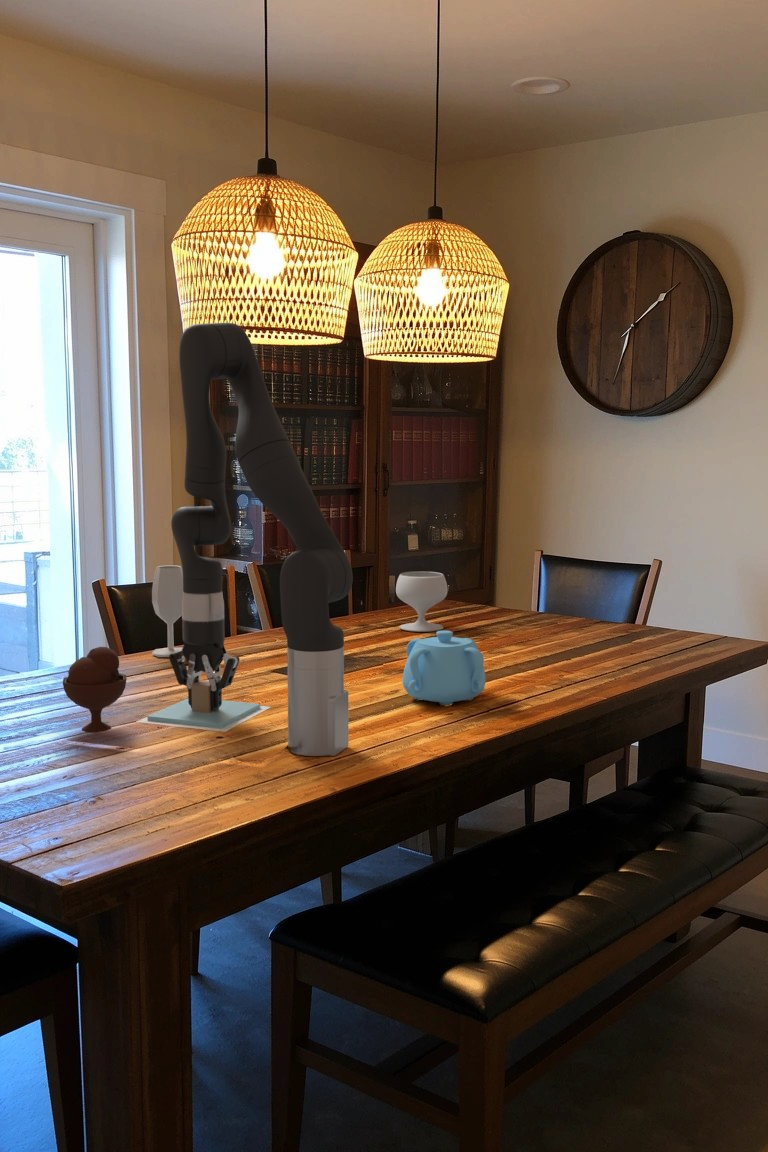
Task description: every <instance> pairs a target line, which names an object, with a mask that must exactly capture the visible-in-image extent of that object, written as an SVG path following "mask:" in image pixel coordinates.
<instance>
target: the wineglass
mask: <svg viewBox="0 0 768 1152" xmlns="http://www.w3.org/2000/svg"><path fill="white" fill-rule="evenodd" d="M151 588H152V589H151V603H152V606H153V610H154V614H155V615H156V616H158V618H159V619H161V620H162V621H164V623H166V626H167V628H166V629H167V647H163V648H155V649H154V650H152V653H151V654H152V656H155V657H157V658H169V655H170V654H172V653H175V652H178V651H179V652H180V651H182V648H183V647H175V645H174V644H175V643H174V623H176V621H178V620H179V618H180V617H182V600H183V570H182V565H174V564H173V565H169V564H168V565H158V566H156V567H155V571H154V574H153V579H152V587H151Z"/></svg>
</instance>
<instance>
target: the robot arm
mask: <svg viewBox="0 0 768 1152" xmlns="http://www.w3.org/2000/svg"><path fill="white" fill-rule="evenodd" d="M178 349H179V351H178V353H179V354H178V355H179V357H178V358H179V359H178V360H179V372H180V382H181V383H180V384H181V392H182V393H181V394H182V395H181V396H182V402H183V403H182V404H183V412H184V413H183V414H184V422H185V432H186V434H185V435H186V436H185V437H186V438H185V439H186V448H185V449H186V452H185V464H184V465H185V468H184V469H185V470H184V490H185V491H186V492H187V494H188V495H191V496H192V497H195V498H200V499H203V500H208V501H210V505H205V506H204V505H203V506H202V505H200V506H181V507H179V508H177V509H176V510H175V511H174V513H173V515H172V518H171V521H170V522H171V523H170V525H171V531H172V535H173V537H174V541H175V544H176V546H177V551H178V553H179V557H180V563H181V567H182V570H183V600H182V615H181V617H182V618H181V621H182V622H181V623H182V626H181V627H182V641H183V647H181V648H182V651H180V652H179V651H178V652H175V653H172V654H170V655H169V657H168V658H169V661H170V663H171V667H172V670H173V672H174V675H175V678H176V680H177V684H178V685H180V686H181V685H183V686H185V687H186V688H187V690H188V691H187V693H188V694H187V695H188V696H187V697H188V703H189V705H191V709H192V689H191V685H192V684H194V683H196V682H199V681H201V680H200V679H201V675H202V674H203V672H204V673H205V675H206V679H207V680H208V681H209V683H210V688H211V690H212V691H210V703H211V711H216V710H218V709H219V707H220V706H221V704H222V700H223V695H222V694H223V693H222V691H223V689H225V688H227V687H229V686H231V685H232V683H233V680H234V678H235V674H236V671H237V669H238V666H239V662H240V660H241V659H240V657H239V656H238V655H236V656H232V655H231V654H230V653H229V654H228V653H227V650H226V648H225V645H224V644H225V640H226V639H225V601H224V595H223V566H222V562H220V560H218V559H216V558H213V557H212V558H210V557H205V556H204V557H203V556H200V555H198V553H197V552H196V550H195V547H196V546H218V545H223V544H225V543H226V542H227V541H228V539H229V538H230V537H231V535H232V530H233V529H232V520H231V516H230V512H229V508H228V503H227V496H226V495H227V494H226V472H227V471H226V469H227V447H226V446H227V445H226V442H225V438H224V437H223V434H222V431H221V429H220V428H219V425H218V423H217V422H216V419H215V417H214V414H213V411H212V409H211V404H210V386H211V381H212V380H213V381H214V380H227V381H228V383H229V386H230V388H231V389H232V392H233V395H234V397H235V400H236V403H237V407H238V419H237V425H236V429H235V430H236V431H235V437H234V438H235V439H234V452H235V453H234V454H235V456H236V457H235V458H236V460H237V461H238V464H239V467H240V469H241V472H242V474H243V476H244V479H245V481H246V482H247V484H248V486H249V489H250V490H251V492H252V493H253V494H254V496H255V497H256V498H257V499H258V500H259V502H260V503H261V504H262V505H263V506H264V507H265V508H266V509H267V510H268V511H269V512H270V513H271V514H272V515H273V516H274V517H275V518H276V519H277V520H278V521H279V522H280V523H281V524H282V525H283V527H284V528H285V529H286V530H287V532H288V534H289V535H290V537H291V539H292V540H293V542H294V545H295V547H296V551H293V552H292V553H290V554H289V555H288V556H287V557H286V558H285V560H284V562H283V563H282V566H281V568H280V569H281V570H280V573H279V574H280V575H279V594H280V597H279V598H280V612H281V624H282V628H283V631H284V634H285V636H286V646H287V647H286V649H287V650H286V651H287V652H286V654H287V655H286V656H287V657H286V658H287V671H286V672H287V749H288V751H289V752H290V753H292V754H296V755H299V756H306V757H322V756H333V757H334V756H337V755H339V753H342V751H344V750H345V749H346V748H348V747H349V691H348V690H347V689H345V684H344V683H345V677H344V676H345V675H344V674H345V673H344V671H345V669H344V667H345V653H344V651H345V650H344V649H345V647H344V645H345V643H344V642H345V641H344V640H345V637H344V636H345V634H344V631H343V629H342V627H340V626H338V625H335V624H333V623H332V621H331V619H330V609H329V608H330V607H329V604H330V603H333V602H337V601H340V600H342V599H344V598H345V597H346V596H347V595H348V594H349V593H350V591H351V589H352V587H353V580H354V576H353V573H354V572H353V569H352V565H351V562H350V560H349V557H348V555H347V554H346V552H345V549H344V548H343V546H342V544H341V543H340V541H339V540H338V538H337V536H336V535H335V533H334V531H333V529H332V528H331V526H330V524H329V523H328V521H327V519H326V517H325V516H324V513H323V512H322V510H321V508H320V506H319V505H320V504H319V503H318V501H317V498H316V497H315V494H314V493H313V489H312V488H311V486H310V484H309V481H308V480H307V478H306V475H305V473H304V471H303V469H302V466H301V463H300V461H299V459H298V457H297V454H296V452H295V450H294V448H293V445H292V443H291V441H290V439H289V436H288V435H287V433H286V431H285V429H284V426H283V424H282V422H281V420H280V418H279V415H278V412H277V411H276V408H275V406H274V403H273V400H272V398H271V396H270V393H269V390H268V389H267V385H266V382H265V379H264V377H263V373H262V371H261V366H260V364H259V361H258V359H257V355H256V353H255V350H254V347H253V345H252V342H251V340H250V337H249V336H248V334H247V333H246V331H245V329H243V328H242V327H241V326H240V325H239V324H236V323H232V322H215V323H214V322H210V323H197V324H191V325H189V326H188V327H186V328H185V330H184V331H183V333H182V335H181V337H180V342H179V347H178ZM185 661H186V663H187V664H188V666H186V663H185ZM222 662H223V666H224V670H223V672H222V667H221V664H222Z"/></svg>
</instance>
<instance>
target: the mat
mask: <svg viewBox="0 0 768 1152" xmlns="http://www.w3.org/2000/svg"><path fill="white" fill-rule="evenodd" d="M270 708H272V707H271V706H265V705H260V709H258V710H256V711H254V712H252V713H250V714H248V715H247V716H245V717H243V718H241V719H239V720H237V721H235V722H233V723H231V724H229V725H227V726H226V727H224V728H222V729H221V728H212V727H203V726H193V725H184V724H175V723H166V722H157V721H147V716H146V717H145V716H144V717H143V718H141V719H139V720H137V721H135V723H138V724H139V723H140V724H141V723H142V724H149V725H158V726H160V725H161V726H168V727H177V728H186V729H195V730H204V731H214V732H223V733H226V732H228V731H229V730H232V729H233V728H235V727H237V726H239V725H241V724H243V723H244V722H246V721H248V720H250V719H253V718H254V717H255V716H258V715H259V714H261V713H263V712H265V711H267V710H268V709H270Z"/></svg>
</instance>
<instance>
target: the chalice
mask: <svg viewBox="0 0 768 1152" xmlns="http://www.w3.org/2000/svg"><path fill="white" fill-rule="evenodd" d="M448 590H449V589H448V583H447V580H446V577H445V574H443V573H441V572H436V571H426V570H425V571H421V570H420V571H405V572H401V573H400V574H399V576H398V578H397V581H396V586H395V593H396V596H397V597H398V599H399V600H401V601H402V602H403V603H405V604H407V605H408V606H410V607H412V608H413V609H414V610H415V612H416V613H417V620H416V621H415V622H409V623H405V624H404V623H403V624H401V625H399V626H398V628H399V629H401V630H403V631H407V632H419V633H420V632H421V633H426V632H428V633H429V632H438V631H442V630H443V629H445V628H444V626H443V625H441V624H438V623H434V622H428V621H427V619H426V618H425V617H426V613H427V611H428V610H430V609H431V608H433V607H434V606H435V605H438V604H439V603H441V602H442V601H444V600H445V598H446V597H447V595H448Z"/></svg>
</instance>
